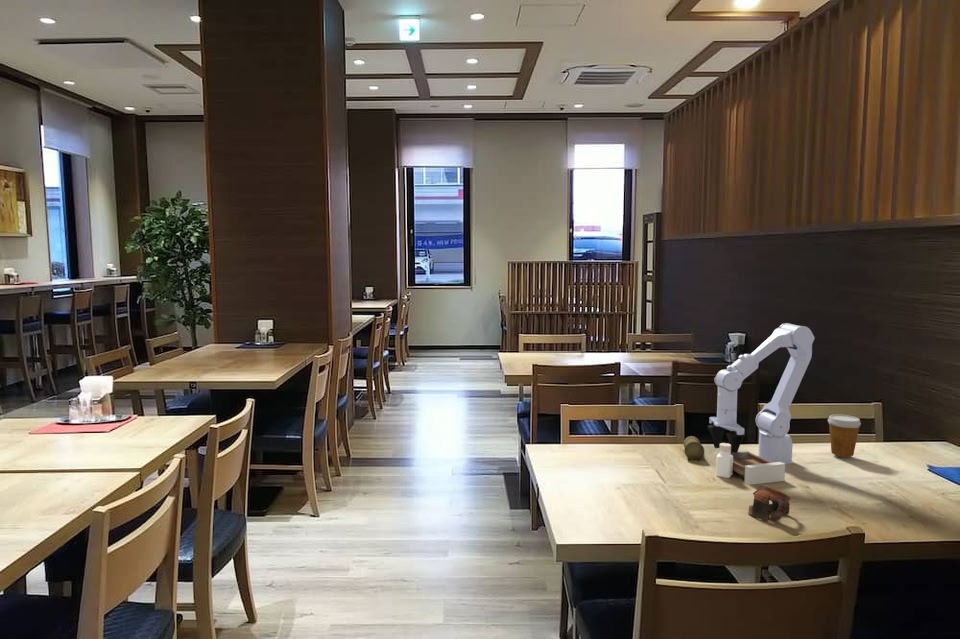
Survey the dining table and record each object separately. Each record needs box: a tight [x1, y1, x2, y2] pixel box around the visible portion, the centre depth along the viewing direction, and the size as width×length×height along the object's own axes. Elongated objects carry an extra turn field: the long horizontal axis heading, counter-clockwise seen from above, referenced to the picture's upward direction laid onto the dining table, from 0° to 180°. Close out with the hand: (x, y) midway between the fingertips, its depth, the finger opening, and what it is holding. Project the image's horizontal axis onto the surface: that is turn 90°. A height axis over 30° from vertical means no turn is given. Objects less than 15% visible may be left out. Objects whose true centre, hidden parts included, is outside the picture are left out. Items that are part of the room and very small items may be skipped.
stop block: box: [744, 462, 786, 486], centre depth 188 cm, size 12×2×5 cm, turn 106°
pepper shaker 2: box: [715, 442, 734, 479], centre depth 193 cm, size 4×4×10 cm
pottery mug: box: [748, 484, 791, 522], centre depth 163 cm, size 12×9×8 cm
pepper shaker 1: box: [683, 435, 705, 461], centre depth 213 cm, size 6×6×11 cm
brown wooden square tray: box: [730, 450, 772, 479], centre depth 196 cm, size 11×11×4 cm
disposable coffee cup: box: [827, 414, 862, 458], centre depth 213 cm, size 10×10×12 cm
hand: (725, 451), depth 205 cm, fingers open, 7 cm apart
